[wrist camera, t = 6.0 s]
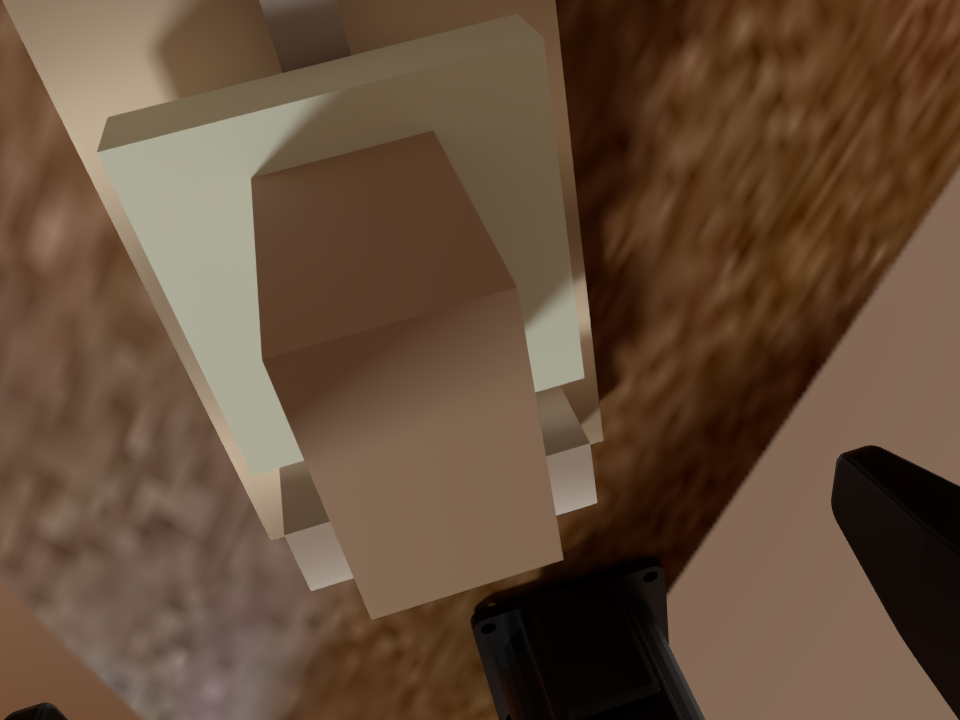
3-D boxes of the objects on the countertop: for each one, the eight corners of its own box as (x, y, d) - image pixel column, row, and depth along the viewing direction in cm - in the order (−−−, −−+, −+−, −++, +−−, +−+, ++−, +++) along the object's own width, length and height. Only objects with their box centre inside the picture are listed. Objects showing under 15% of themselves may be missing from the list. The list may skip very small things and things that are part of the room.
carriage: (561, 337, 19) (687, 561, 14) (250, 427, 18) (261, 697, 13) (517, 13, 14) (678, 163, 9) (107, 117, 14) (39, 338, 9)
